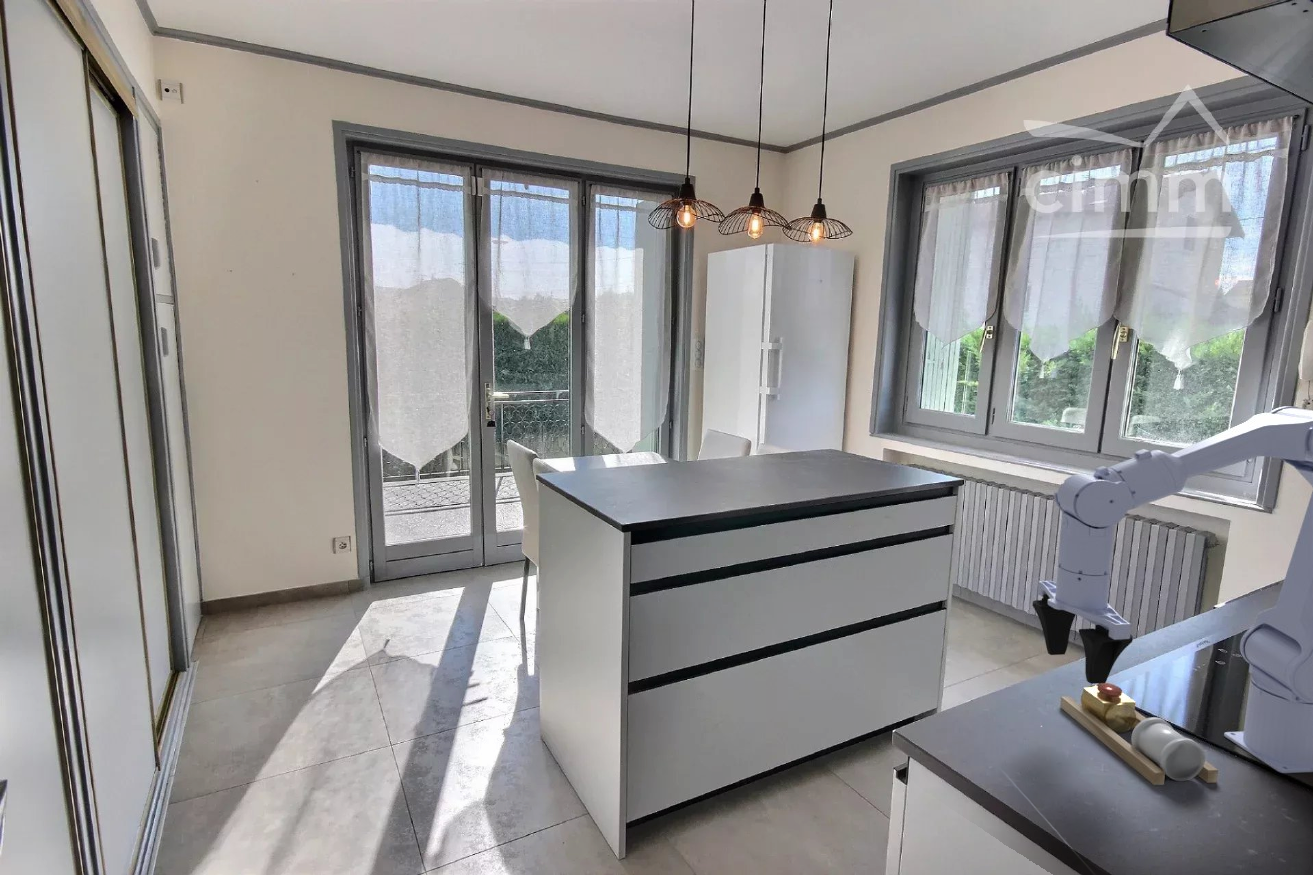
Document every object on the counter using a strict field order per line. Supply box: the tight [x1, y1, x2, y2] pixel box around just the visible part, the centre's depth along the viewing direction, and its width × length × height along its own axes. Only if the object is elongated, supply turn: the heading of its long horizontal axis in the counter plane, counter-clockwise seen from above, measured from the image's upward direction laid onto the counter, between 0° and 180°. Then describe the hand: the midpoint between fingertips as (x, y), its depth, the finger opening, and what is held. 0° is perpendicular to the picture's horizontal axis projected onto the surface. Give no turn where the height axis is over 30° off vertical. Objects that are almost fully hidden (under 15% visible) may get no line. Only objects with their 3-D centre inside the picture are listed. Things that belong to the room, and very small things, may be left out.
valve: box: [1080, 682, 1136, 734], centre depth 91 cm, size 5×4×5 cm
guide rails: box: [1059, 695, 1219, 786], centre depth 87 cm, size 8×17×2 cm, turn 3°
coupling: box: [1130, 716, 1206, 782], centre depth 81 cm, size 5×5×5 cm
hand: (1075, 667), depth 87 cm, fingers open, 7 cm apart
